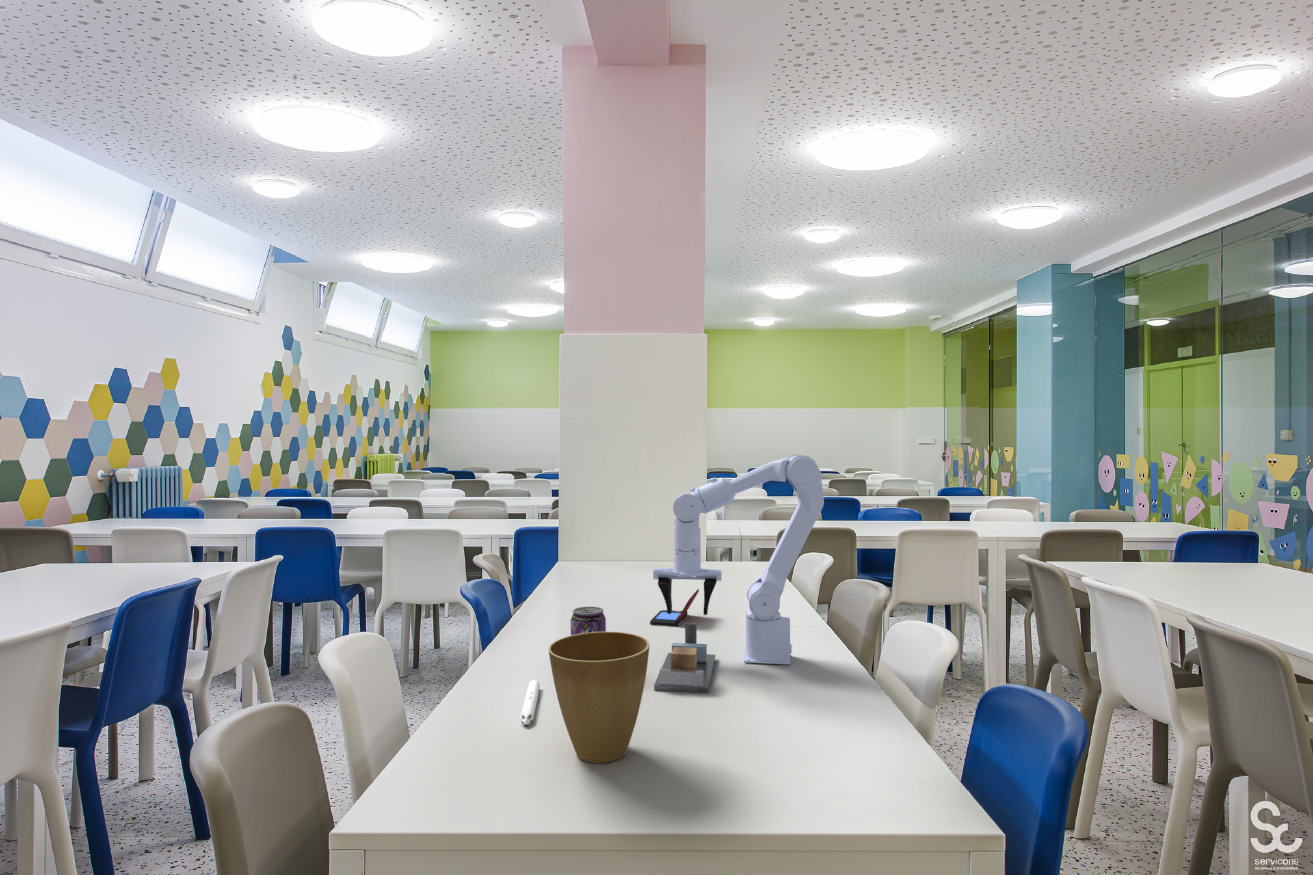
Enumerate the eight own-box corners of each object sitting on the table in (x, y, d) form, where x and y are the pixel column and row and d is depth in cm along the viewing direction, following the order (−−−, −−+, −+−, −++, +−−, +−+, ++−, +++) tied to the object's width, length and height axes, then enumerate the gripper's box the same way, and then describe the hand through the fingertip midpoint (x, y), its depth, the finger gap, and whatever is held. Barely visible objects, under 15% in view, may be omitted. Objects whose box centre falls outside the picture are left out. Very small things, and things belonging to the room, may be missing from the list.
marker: (532, 729, 113) (532, 714, 113) (519, 730, 113) (519, 715, 113) (539, 690, 131) (539, 677, 131) (528, 690, 131) (528, 678, 131)
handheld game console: (660, 614, 189) (660, 586, 189) (700, 616, 186) (699, 588, 186) (648, 626, 177) (648, 596, 177) (690, 628, 174) (690, 598, 174)
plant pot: (598, 724, 115) (598, 625, 115) (670, 749, 105) (669, 641, 105) (527, 755, 103) (527, 646, 103) (601, 787, 94) (600, 666, 94)
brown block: (697, 673, 136) (697, 647, 136) (695, 681, 132) (694, 654, 132) (674, 672, 137) (673, 646, 137) (671, 680, 133) (671, 653, 133)
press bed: (668, 657, 150) (668, 640, 150) (715, 659, 148) (715, 642, 148) (654, 690, 130) (654, 671, 130) (708, 692, 129) (708, 673, 129)
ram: (674, 652, 149) (674, 622, 149) (708, 653, 148) (707, 623, 148) (671, 661, 143) (671, 630, 143) (705, 663, 142) (705, 631, 142)
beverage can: (563, 671, 141) (563, 611, 141) (583, 662, 147) (583, 604, 147) (593, 677, 138) (593, 615, 138) (612, 666, 144) (612, 608, 144)
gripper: (650, 551, 147) (651, 616, 147) (720, 553, 145) (720, 618, 145) (655, 546, 154) (656, 608, 154) (722, 548, 152) (722, 610, 152)
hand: (687, 613), depth 150 cm, fingers open, 7 cm apart
